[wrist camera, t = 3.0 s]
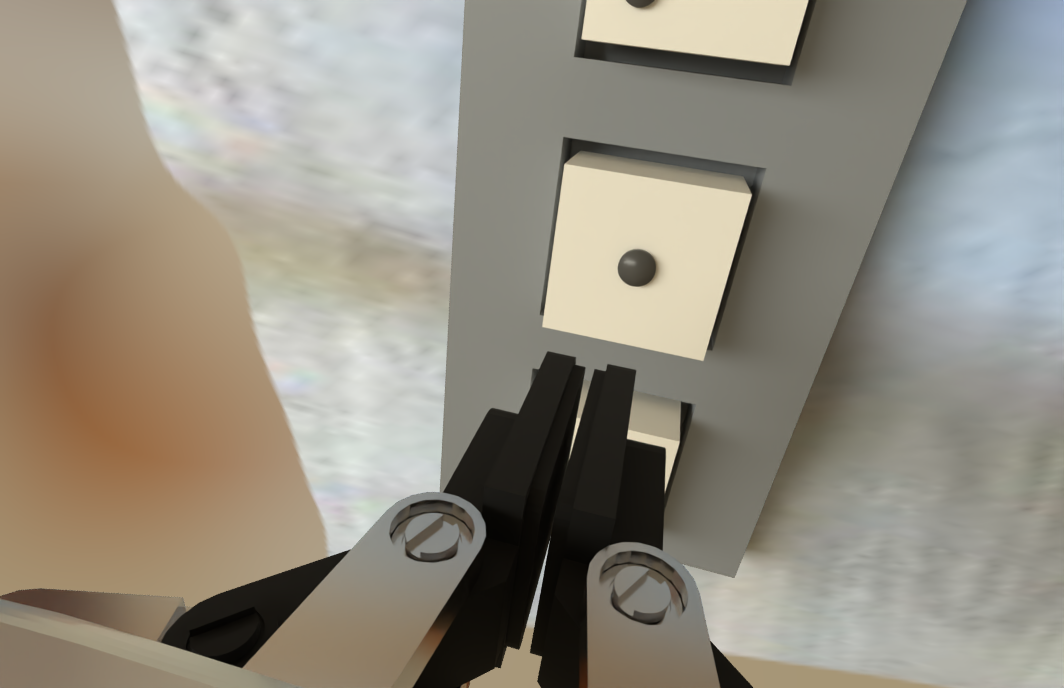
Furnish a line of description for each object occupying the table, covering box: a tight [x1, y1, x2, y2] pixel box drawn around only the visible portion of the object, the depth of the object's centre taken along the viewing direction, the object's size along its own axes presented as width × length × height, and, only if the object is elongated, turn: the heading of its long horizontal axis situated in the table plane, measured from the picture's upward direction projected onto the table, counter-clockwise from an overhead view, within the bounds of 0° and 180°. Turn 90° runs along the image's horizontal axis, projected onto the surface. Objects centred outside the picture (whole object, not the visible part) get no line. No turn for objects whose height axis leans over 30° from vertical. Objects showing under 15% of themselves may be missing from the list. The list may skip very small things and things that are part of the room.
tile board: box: [440, 0, 967, 578], centre depth 21 cm, size 14×28×2 cm, turn 173°
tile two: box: [569, 380, 681, 491], centre depth 24 cm, size 6×6×3 cm
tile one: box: [542, 151, 752, 361], centre depth 20 cm, size 6×6×3 cm
